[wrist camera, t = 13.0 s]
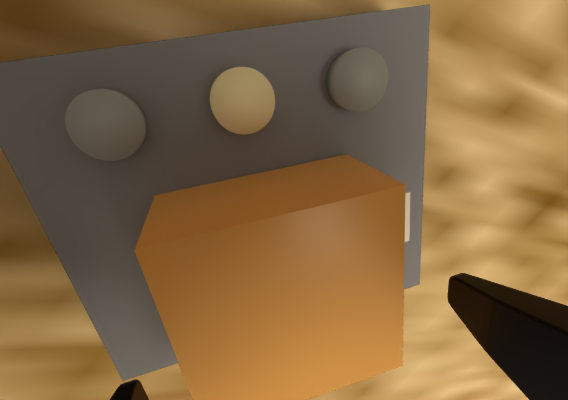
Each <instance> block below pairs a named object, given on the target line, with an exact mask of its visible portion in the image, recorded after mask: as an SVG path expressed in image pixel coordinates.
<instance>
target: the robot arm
mask: <svg viewBox="0 0 568 400" xmlns="http://www.w3.org/2000/svg"><path fill="white" fill-rule="evenodd" d="M448 302H449V304H450V306H451V307H452V308H453V310H454V311H455V312H456V314H457V315H458V316H459V318H460V319H461V320H462V321H463V323H464V324H465V325H466V327H467V328H468V329H469V331H470V332H471V333H472V335H473V336H474V337H475V339H476V340H477V341H478V343H479V344H480V345H481V346H482V347H483V349H484V350H485V351H486V352H487V353H488V355H489V356H490V357H491V358H492V359H493V360H494V361H495V362H496V364H497V365H498V366H499V367H500V368H501V369H502V370H503V371H504V372H505V373H506V375H507V376H508V377H509V378H510V379H511V380H512V381H513V382H514V383H515V384H516V386H517V387H518V388H519V389H520V390H521V391H522V392H523V393H524V394H525V395H526V397H527V398H528V399H529V400H568V306H566V305H563V304H560V303H557V302H554V301H551V300H548V299H544V298H541V297H538V296H535V295H532V294H529V293H526V292H522V291H519V290H516V289H513V288H510V287H507V286H504V285H500V284H497V283H494V282H491V281H488V280H485V279H481V278H478V277H475V276H472V275H469V274H466V273H460V274H457V275H454V276H451V277H450V279H449V285H448ZM110 400H149V399H148V397H147V395H146V392H145V390H144V388H143V386H142V384H141V382H140V381H139V380H132V381H129V382H126V383H123V384H121V385H120V386H119V387H118V388H117V390H116V391H115V393H114V394H113V395H112V397H111V398H110Z"/></svg>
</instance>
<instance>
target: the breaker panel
mask: <svg viewBox="0 0 568 400" xmlns="http://www.w3.org/2000/svg"><path fill="white" fill-rule="evenodd" d="M429 21H430V4H429V5H422V6H414V7H407V8H400V9H392V10H385V11H377V12H370V13H363V14H355V15H348V16H340V17H333V18H325V19H318V20H311V21H303V22H296V23H288V24H281V25H274V26H266V27H259V28H251V29H244V30H237V31H229V32H222V33H214V34H207V35H199V36H192V37H185V38H177V39H170V40H162V41H155V42H148V43H140V44H133V45H125V46H118V47H111V48H103V49H96V50H88V51H81V52H73V53H66V54H59V55H51V56H44V57H36V58H29V59H22V60H14V61H7V62H0V146H1V148H2V150H3V152H4V154H5V156H6V157H7V159H8V161H9V163H10V165H11V167H12V169H13V171H14V173H15V175H16V177H17V179H18V181H19V182H20V184H21V186H22V188H23V190H24V192H25V194H26V196H27V198H28V200H29V202H30V204H31V206H32V207H33V209H34V211H35V213H36V215H37V217H38V219H39V221H40V223H41V225H42V227H43V229H44V230H45V232H46V234H47V236H48V238H49V240H50V242H51V244H52V246H53V248H54V250H55V252H56V254H57V255H58V257H59V259H60V261H61V263H62V265H63V267H64V269H65V271H66V273H67V275H68V277H69V279H70V280H71V282H72V284H73V286H74V288H75V290H76V292H77V294H78V296H79V298H80V300H81V302H82V303H83V305H84V307H85V309H86V311H87V313H88V315H89V317H90V319H91V321H92V323H93V325H94V327H95V328H96V330H97V332H98V334H99V336H100V338H101V340H102V342H103V344H104V346H105V348H106V350H107V352H108V353H109V355H110V357H111V359H112V361H113V363H114V365H115V367H116V369H117V371H118V373H119V375H120V376H121V378H122V380H123V381H124V380H127V379H130V378H133V377H136V376H140V375H143V374H146V373H149V372H152V371H155V370H158V369H161V368H164V367H167V366H170V365H173V364H176V363H178V360H177V358H176V355H175V353H174V350H173V348H172V345H171V343H170V340H169V338H168V335H167V332H166V330H165V327H164V325H163V322H162V320H161V317H160V315H159V312H158V310H157V307H156V304H155V302H154V299H153V297H152V294H151V292H150V289H149V287H148V284H147V282H146V279H145V276H144V274H143V271H142V269H141V266H140V264H139V261H138V259H137V256H136V254H135V251H134V250H135V248H136V245H137V242H138V239H139V237H140V234H141V231H142V229H143V226H144V223H145V220H146V218H147V215H148V212H149V210H150V207H151V204H152V201H153V199H154V196H155V195H158V194H163V193H168V192H172V191H177V190H182V189H186V188H191V187H196V186H200V185H205V184H210V183H214V182H219V181H224V180H228V179H233V178H238V177H242V176H247V175H252V174H256V173H261V172H266V171H270V170H275V169H280V168H284V167H289V166H293V165H298V164H303V163H307V162H312V161H317V160H321V159H326V158H331V157H335V156H340V155H345V154H348V155H349V156H351V157H353V158H355V159H357V160H359V161H361V162H363V163H365V164H367V165H368V166H370V167H372V168H374V169H376V170H378V171H380V172H382V173H384V174H386V175H387V176H389V177H391V178H393V179H395V180H397V181H399V182H401V183H403V184H405V185H406V193H405V251H404V289H407V288H410V287H413V286H416V285H419V284H420V260H421V234H422V207H423V180H424V154H425V127H426V101H427V74H428V47H429Z"/></svg>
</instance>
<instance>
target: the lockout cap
mask: <svg viewBox="0 0 568 400" xmlns="http://www.w3.org/2000/svg"><path fill="white" fill-rule="evenodd" d="M405 193H406V185H405V184H403V183H401V182H399V181H397V180H395V179H393V178H391V177H389V176H387V175H386V174H384V173H382V172H380V171H378V170H376V169H374V168H372V167H370V166H368V165H367V164H365V163H363V162H361V161H359V160H357V159H355V158H353V157H351V156H349V155H348V154H345V155H340V156H335V157H331V158H326V159H321V160H317V161H312V162H307V163H303V164H298V165H293V166H289V167H284V168H280V169H275V170H270V171H266V172H261V173H256V174H252V175H247V176H242V177H238V178H233V179H228V180H224V181H219V182H214V183H210V184H205V185H200V186H196V187H191V188H186V189H182V190H177V191H172V192H168V193H163V194H158V195H155V196H154V199H153V201H152V204H151V207H150V210H149V212H148V215H147V218H146V220H145V223H144V226H143V229H142V231H141V234H140V237H139V239H138V242H137V245H136V248H135V250H134V251H135V254H136V256H137V259H138V261H139V264H140V266H141V269H142V271H143V274H144V276H145V279H146V282H147V284H148V287H149V289H150V292H151V294H152V297H153V299H154V302H155V304H156V307H157V310H158V312H159V315H160V317H161V320H162V322H163V325H164V327H165V330H166V332H167V335H168V338H169V340H170V343H171V345H172V348H173V350H174V353H175V355H176V358H177V360H178V363H179V366H180V368H181V371H182V373H183V376H184V378H185V381H186V383H187V386H188V388H189V391H190V393H191V396H192V399H193V400H307V399H310V398H313V397H316V396H319V395H321V394H324V393H327V392H330V391H333V390H335V389H338V388H341V387H344V386H347V385H350V384H352V383H355V382H358V381H361V380H364V379H367V378H369V377H372V376H375V375H378V374H381V373H384V372H386V371H389V370H392V369H395V368H398V367H400V366H402V365H403V308H404V251H405Z"/></svg>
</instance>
